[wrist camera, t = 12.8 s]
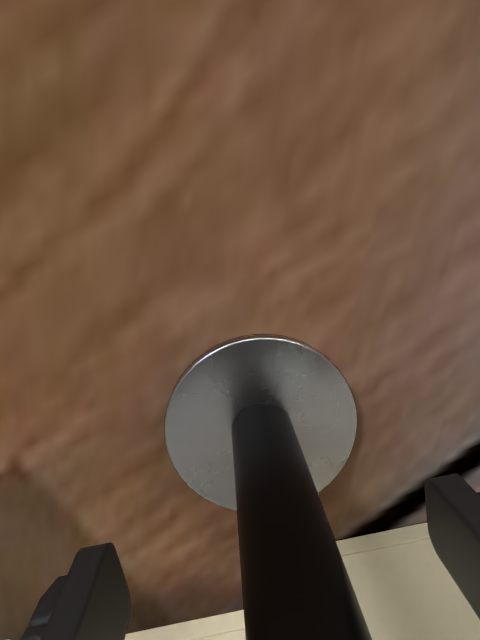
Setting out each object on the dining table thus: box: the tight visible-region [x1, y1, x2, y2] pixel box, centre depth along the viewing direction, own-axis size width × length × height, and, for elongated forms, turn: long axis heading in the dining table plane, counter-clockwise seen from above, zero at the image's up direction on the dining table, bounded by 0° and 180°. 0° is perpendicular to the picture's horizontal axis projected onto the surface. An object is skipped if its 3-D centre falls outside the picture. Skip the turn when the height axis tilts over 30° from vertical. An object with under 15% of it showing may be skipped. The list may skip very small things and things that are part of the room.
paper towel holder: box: [164, 334, 372, 640], centre depth 11 cm, size 8×8×10 cm
